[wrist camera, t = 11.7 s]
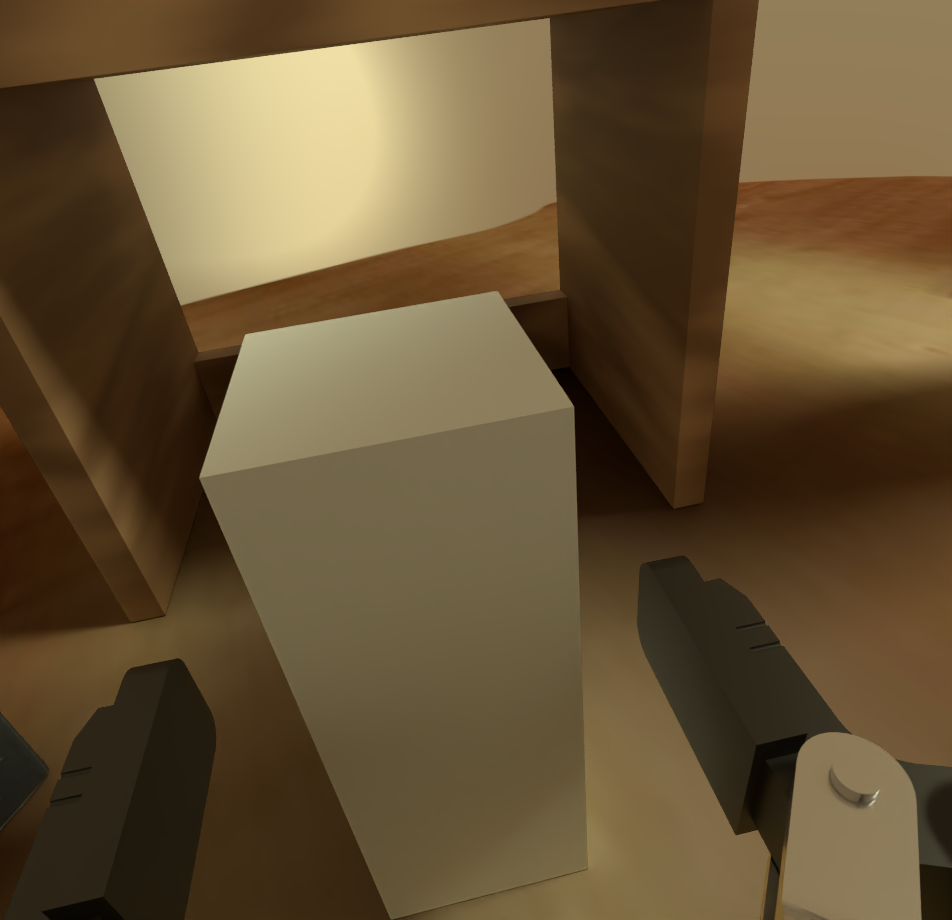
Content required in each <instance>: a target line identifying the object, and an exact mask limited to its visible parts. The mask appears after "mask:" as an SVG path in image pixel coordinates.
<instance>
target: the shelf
mask: <svg viewBox="0 0 952 920" xmlns="http://www.w3.org/2000/svg"><path fill="white" fill-rule="evenodd" d="M758 2H759V0H0V406H1V408H2V409H3V411H4V413H5V414H6V416H7V418H8V419H9V421H10V423H11V424H12V426H13V428H14V429H15V431H16V433H17V434H18V436H19V438H20V439H21V441H22V443H23V444H24V446H25V448H26V449H27V451H28V453H29V454H30V456H31V458H32V459H33V461H34V463H35V464H36V466H37V468H38V469H39V471H40V473H41V474H42V476H43V478H44V479H45V481H46V483H47V484H48V486H49V488H50V489H51V491H52V493H53V494H54V496H55V498H56V499H57V501H58V503H59V504H60V506H61V508H62V509H63V511H64V513H65V514H66V516H67V518H68V519H69V521H70V523H71V524H72V526H73V528H74V529H75V531H76V533H77V534H78V536H79V538H80V539H81V541H82V543H83V544H84V546H85V548H86V549H87V551H88V553H89V554H90V556H91V558H92V559H93V561H94V563H95V564H96V566H97V568H98V569H99V571H100V573H101V574H102V576H103V578H104V579H105V581H106V582H107V584H108V586H109V587H110V589H111V591H112V592H113V594H114V596H115V597H116V599H117V601H118V602H119V604H120V606H121V607H122V609H123V611H124V612H125V614H126V616H127V617H128V619H129V621H130V622H135V621H140V620H145V619H150V618H155V617H159V616H164V615H165V614H166V611H167V608H168V604H169V601H170V598H171V595H172V591H173V588H174V585H175V581H176V578H177V575H178V571H179V568H180V565H181V562H182V558H183V555H184V552H185V548H186V545H187V542H188V538H189V535H190V532H191V529H192V525H193V522H194V519H195V515H196V512H197V509H198V505H199V502H200V499H201V496H202V492H203V489H204V488H203V486H202V484H201V481H200V479H199V477H200V474H201V471H202V468H203V465H204V461H205V458H206V455H207V452H208V449H209V446H210V443H211V440H212V437H213V433H214V430H215V427H216V424H217V421H218V418H219V415H220V412H221V409H222V406H223V402H224V399H225V396H226V393H227V390H228V387H229V384H230V381H231V378H232V375H233V371H234V368H235V365H236V362H237V359H238V356H239V353H240V350H241V347H242V345H239V346H233V347H227V348H221V349H216V350H210V351H204V352H198V350H197V348H196V345H195V342H194V340H193V337H192V335H191V332H190V329H189V327H188V324H187V322H186V319H185V316H184V314H183V311H182V309H181V306H180V303H179V301H178V298H177V296H176V293H175V290H174V288H173V285H172V283H171V280H170V277H169V275H168V272H167V269H166V267H165V264H164V262H163V259H162V256H161V254H160V251H159V248H158V246H157V243H156V241H155V238H154V236H153V233H152V230H151V228H150V225H149V222H148V220H147V217H146V215H145V212H144V210H143V207H142V204H141V201H140V199H139V196H138V194H137V191H136V188H135V186H134V183H133V181H132V178H131V176H130V173H129V170H128V168H127V165H126V162H125V160H124V157H123V154H122V152H121V149H120V147H119V144H118V141H117V139H116V136H115V134H114V131H113V128H112V126H111V123H110V121H109V118H108V115H107V113H106V110H105V107H104V105H103V102H102V100H101V97H100V94H99V92H98V90H97V87H96V84H95V81H94V79H95V78H103V77H110V76H118V75H125V74H133V73H140V72H147V71H155V70H162V69H170V68H177V67H185V66H193V65H200V64H208V63H215V62H223V61H230V60H238V59H245V58H253V57H260V56H268V55H275V54H283V53H290V52H298V51H304V50H313V49H320V48H327V47H334V46H342V45H350V44H357V43H365V42H372V41H380V40H387V39H394V38H402V37H410V36H417V35H425V34H432V33H440V32H447V31H455V30H462V29H469V28H477V27H485V26H492V25H500V24H506V23H514V22H522V21H529V20H537V19H544V18H550V33H551V60H552V83H553V84H552V86H553V111H554V138H555V163H556V190H557V217H558V243H559V269H560V290H556V291H550V292H544V293H538V294H533V295H527V296H521V297H515V298H509V299H504V302H505V303H506V305H507V306H508V308H509V309H510V311H511V312H512V314H513V315H514V317H515V318H516V320H517V321H518V323H519V324H520V326H521V327H522V329H523V330H524V332H525V333H526V335H527V336H528V338H529V339H530V341H531V342H532V344H533V345H534V347H535V348H536V350H537V351H538V353H539V354H540V356H541V357H542V359H543V360H544V362H545V363H546V365H547V366H548V368H549V369H550V370H555V369H560V368H566V367H570V368H571V370H572V371H573V373H574V374H575V375H576V377H577V378H578V379H579V381H580V382H581V383H582V385H583V386H584V388H585V389H586V390H587V392H588V393H589V394H590V396H591V397H592V398H593V400H594V401H595V403H596V404H597V405H598V407H599V408H600V409H601V411H602V412H603V413H604V415H605V416H606V418H607V419H608V420H609V422H610V423H611V424H612V426H613V427H614V428H615V430H616V431H617V432H618V434H619V435H620V437H621V438H622V439H623V441H624V442H625V443H626V445H627V446H628V447H629V449H630V450H631V452H632V453H633V454H634V456H635V457H636V458H637V460H638V461H639V462H640V464H641V465H642V467H643V468H644V469H645V471H646V472H647V473H648V475H649V476H650V477H651V479H652V480H653V482H654V483H655V484H656V486H657V487H658V488H659V490H660V491H661V492H662V494H663V495H664V497H665V498H666V499H667V501H668V502H669V503H670V505H671V506H672V507H673V509H676V508H681V507H685V506H690V505H695V504H700V503H703V501H704V492H705V483H706V474H707V465H708V456H709V447H710V438H711V429H712V419H713V410H714V401H715V392H716V383H717V374H718V365H719V356H720V347H721V338H722V329H723V320H724V311H725V302H726V292H727V283H728V274H729V265H730V256H731V247H732V238H733V229H734V220H735V211H736V202H737V193H738V184H739V173H740V165H741V155H742V146H743V138H744V129H745V120H746V110H747V102H748V93H749V83H750V74H751V66H752V57H753V47H754V38H755V29H756V20H757V10H758Z"/></svg>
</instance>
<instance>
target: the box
mask: <svg viewBox="0 0 952 920" xmlns="http://www.w3.org/2000/svg"><path fill="white" fill-rule="evenodd" d="M48 773H49V768H48V766H47V765H46V763H45V762H44V761H43V760H42V759H41V758H40V757H39V755H38V754H37V753H35V752H34V750H33V749H32V748H31V747H30V745H29V744H28V743H27V742H26V741H25V740H24V738H23V737H22V736H21V735H20V734H19V733H18V732H17V731H16V730H15V728H14V727H13V726H12V725H11V724H10V722H9V721H8V720H7V719H6V718H5V717H4V716H3V715H2V714H1V712H0V831H1V829H2V828H3V827H4V826H5V825H6V824H7V823H8V822H9V820H10V819H11V818H12V817H13V815H14V814H15V813H16V812H17V811H18V810H19V809H20V808H21V807H22V806H23V805H24V804H25V803H26V801H27V800H28V799H29V798H30V796H31V795H32V794H33V793H34V792H35V790H36V789H37V788H38V787H39V786H40V784H41V783H42V782H43V780H44V779H45V778H46V777H47V775H48Z"/></svg>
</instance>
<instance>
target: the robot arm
mask: <svg viewBox="0 0 952 920" xmlns="http://www.w3.org/2000/svg"><path fill="white" fill-rule="evenodd" d="M637 625H638V633H639V637H640V641H641V645H642V648H643V651H644V653H645V656H646V658H647V660H648V662H649V664H650V666H651V668H652V670H653V672H654V674H655V676H656V678H657V680H658V682H659V684H660V686H661V688H662V690H663V692H664V694H665V696H666V698H667V700H668V702H669V704H670V706H671V707H672V709H673V711H674V713H675V715H676V717H677V719H678V721H679V723H680V725H681V727H682V729H683V731H684V733H685V735H686V737H687V739H688V741H689V743H690V745H691V747H692V749H693V751H694V753H695V755H696V757H697V759H698V761H699V763H700V765H701V767H702V769H703V771H704V773H705V775H706V777H707V779H708V781H709V783H710V785H711V787H712V789H713V791H714V793H715V795H716V797H717V799H718V801H719V803H720V805H721V807H722V809H723V811H724V813H725V815H726V817H727V819H728V821H729V823H730V825H731V827H732V829H733V831H734V833H735V835H739V834H743V833H747V832H751V831H755V830H758V831H759V833H760V835H761V837H762V839H763V840H764V842H765V844H766V846H767V848H768V850H769V856H768V861H767V869H766V876H765V884H764V892H763V899H762V907H761V915H760V920H952V767H945V766H935V765H924V764H915V763H908V762H904V761H900V760H897V759H894V758H893V757H892V756H891V755H889V754H888V753H887V752H886V751H885V750H883V749H882V748H880V747H879V746H877V745H876V744H874V743H872V742H870V741H868V740H866V739H863V738H861V737H858V736H855V735H852V734H851V733H850V732H849V731H848V730H847V729H846V728H845V727H844V726H843V725H842V723H841V722H840V721H839V720H838V718H837V717H836V716H835V714H834V713H833V712H832V710H831V709H830V708H829V706H828V705H827V704H826V702H825V701H824V700H823V698H822V697H821V696H820V694H819V693H818V692H817V690H816V689H815V688H814V686H813V685H812V684H811V682H810V681H809V680H808V678H807V677H806V676H805V674H804V673H803V671H802V670H801V669H800V667H799V666H798V665H797V663H796V662H795V661H794V659H793V658H792V657H791V655H790V654H789V653H788V651H787V650H786V649H785V647H784V646H781V645H780V641H779V639H778V638H777V637H776V635H775V634H774V633H773V631H772V630H771V629H770V627H769V626H766V624H765V620H764V619H763V618H762V616H761V615H760V614H759V612H758V611H757V610H756V608H755V607H754V606H753V604H752V603H751V602H750V600H749V599H748V598H747V597H746V596H745V595H743V594H742V593H741V592H739V591H738V590H736V589H735V588H733V587H732V586H730V585H729V584H728V583H726V582H725V581H723V580H722V579H715V580H710V581H706V582H704V581H703V579H702V578H701V576H700V575H699V573H698V572H697V570H696V569H695V568H694V566H693V565H692V563H691V562H690V561H689V559H688V558H687V557H685V556H677V557H672V558H668V559H663V560H658V561H653V562H648V563H643V564H642V565H641V567H640V573H639V595H638V617H637ZM215 748H216V730H215V723H214V719H213V716H212V713H211V711H210V709H209V707H208V705H207V703H206V702H205V700H204V698H203V696H202V694H201V692H200V691H199V689H198V687H197V685H196V683H195V682H194V680H193V678H192V676H191V674H190V672H189V671H188V669H187V667H186V665H185V664H184V662H183V661H182V660H180V659H173V660H168V661H163V662H158V663H153V664H148V665H144V666H139V667H134V668H131V669H129V670H128V671H127V672H126V674H125V676H124V678H123V680H122V683H121V686H120V689H119V692H118V695H117V697H116V700H115V703H114V705H112V706H107V707H102V708H98V710H97V711H96V712H95V713H94V715H93V716H92V717H91V719H90V720H89V721H88V722H87V724H86V725H85V726H84V727H83V729H82V730H81V731H80V733H79V734H78V735H77V736H76V738H75V739H74V741H73V743H72V746H71V748H70V751H69V753H68V756H67V759H66V761H65V764H64V766H63V769H62V771H61V779H60V780H58V781H57V784H56V787H55V789H54V792H53V794H52V797H51V799H50V803H51V805H50V808H47V809H46V812H45V815H44V817H43V820H42V822H41V825H40V827H39V830H38V832H37V835H36V837H35V840H34V843H33V845H32V848H31V850H30V853H29V855H28V858H27V860H26V863H25V865H24V868H23V870H22V873H21V876H20V878H19V881H18V883H17V886H16V888H15V891H14V893H13V896H12V898H11V901H10V904H9V906H8V909H7V911H6V914H5V916H4V918H3V920H184V917H185V912H186V906H187V901H188V896H189V890H190V885H191V879H192V874H193V868H194V863H195V858H196V852H197V847H198V841H199V836H200V830H201V825H202V819H203V814H204V809H205V803H206V798H207V792H208V787H209V781H210V776H211V771H212V765H213V760H214V754H215Z"/></svg>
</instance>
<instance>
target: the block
mask: <svg viewBox="0 0 952 920" xmlns="http://www.w3.org/2000/svg"><path fill="white" fill-rule="evenodd" d="M199 479H200V481H201V484H202V486H203V488H204V490H205V493H206V495H207V497H208V500H209V502H210V504H211V507H212V509H213V511H214V514H215V516H216V518H217V520H218V523H219V525H220V527H221V530H222V532H223V534H224V537H225V539H226V541H227V543H228V546H229V548H230V550H231V553H232V555H233V557H234V560H235V562H236V564H237V567H238V569H239V571H240V573H241V576H242V578H243V580H244V583H245V585H246V587H247V590H248V592H249V594H250V596H251V599H252V601H253V603H254V606H255V608H256V610H257V613H258V615H259V617H260V619H261V622H262V624H263V626H264V629H265V631H266V633H267V636H268V638H269V640H270V643H271V645H272V647H273V649H274V652H275V654H276V656H277V659H278V661H279V663H280V666H281V668H282V670H283V672H284V675H285V677H286V679H287V682H288V684H289V686H290V689H291V691H292V693H293V696H294V698H295V700H296V702H297V705H298V707H299V709H300V712H301V714H302V716H303V719H304V721H305V723H306V725H307V728H308V730H309V732H310V735H311V737H312V739H313V742H314V744H315V746H316V748H317V751H318V753H319V755H320V758H321V760H322V762H323V765H324V767H325V769H326V772H327V774H328V776H329V778H330V781H331V783H332V785H333V788H334V790H335V792H336V795H337V797H338V799H339V801H340V804H341V806H342V808H343V811H344V813H345V815H346V818H347V820H348V822H349V825H350V827H351V829H352V831H353V834H354V836H355V838H356V841H357V843H358V845H359V848H360V850H361V852H362V854H363V857H364V859H365V861H366V864H367V866H368V868H369V871H370V873H371V875H372V877H373V880H374V882H375V884H376V887H377V889H378V891H379V894H380V896H381V898H382V901H383V903H384V905H385V907H386V910H387V912H388V914H389V917H390V919H391V920H392V919H396V918H400V917H404V916H408V915H412V914H415V913H419V912H423V911H427V910H431V909H435V908H439V907H442V906H446V905H450V904H454V903H458V902H462V901H466V900H470V899H473V898H477V897H481V896H485V895H489V894H493V893H497V892H500V891H504V890H508V889H512V888H516V887H520V886H524V885H527V884H531V883H535V882H539V881H543V880H547V879H551V878H555V877H558V876H562V875H566V874H570V873H574V872H578V871H582V870H585V869H588V860H587V826H586V792H585V758H584V724H583V690H582V656H581V622H580V588H579V554H578V521H577V487H576V453H575V419H574V406H573V404H572V403H571V401H570V400H569V398H568V396H567V395H566V393H565V392H564V390H563V389H562V387H561V386H560V384H559V383H558V381H557V380H556V378H555V377H554V375H553V374H552V372H551V371H550V369H549V368H548V366H547V365H546V363H545V362H544V360H543V359H542V357H541V356H540V354H539V353H538V351H537V350H536V348H535V347H534V345H533V344H532V342H531V341H530V339H529V338H528V336H527V335H526V333H525V332H524V330H523V329H522V327H521V326H520V324H519V323H518V321H517V320H516V318H515V317H514V315H513V314H512V312H511V311H510V309H509V308H508V306H507V305H506V303H505V302H504V300H503V299H502V297H501V296H500V294H499V293H498V291H495V292H489V293H483V294H477V295H472V296H466V297H460V298H454V299H448V300H443V301H437V302H431V303H425V304H419V305H414V306H408V307H402V308H396V309H390V310H385V311H379V312H373V313H367V314H361V315H356V316H350V317H344V318H338V319H332V320H327V321H321V322H315V323H309V324H303V325H297V326H292V327H286V328H280V329H274V330H268V331H263V332H257V333H251V334H245V337H244V340H243V343H242V347H241V350H240V353H239V356H238V359H237V362H236V365H235V368H234V371H233V375H232V378H231V381H230V384H229V387H228V390H227V393H226V396H225V399H224V402H223V406H222V409H221V412H220V415H219V418H218V421H217V424H216V427H215V430H214V433H213V437H212V440H211V443H210V446H209V449H208V452H207V455H206V458H205V461H204V465H203V468H202V471H201V474H200V477H199Z"/></svg>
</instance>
